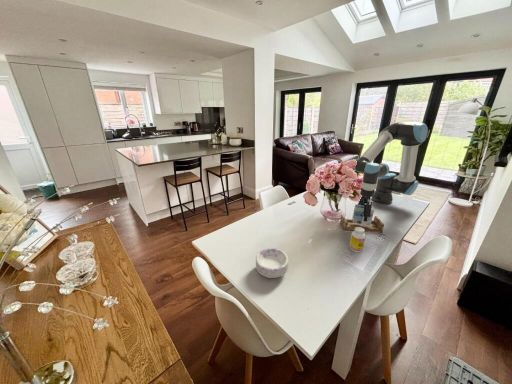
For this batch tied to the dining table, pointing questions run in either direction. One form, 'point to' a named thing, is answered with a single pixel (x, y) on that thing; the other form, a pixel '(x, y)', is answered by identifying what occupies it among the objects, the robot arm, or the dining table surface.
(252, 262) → the dining table surface
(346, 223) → the tray
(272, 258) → the white marbled bowl
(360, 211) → the light bulb box
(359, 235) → the supplement bottle
